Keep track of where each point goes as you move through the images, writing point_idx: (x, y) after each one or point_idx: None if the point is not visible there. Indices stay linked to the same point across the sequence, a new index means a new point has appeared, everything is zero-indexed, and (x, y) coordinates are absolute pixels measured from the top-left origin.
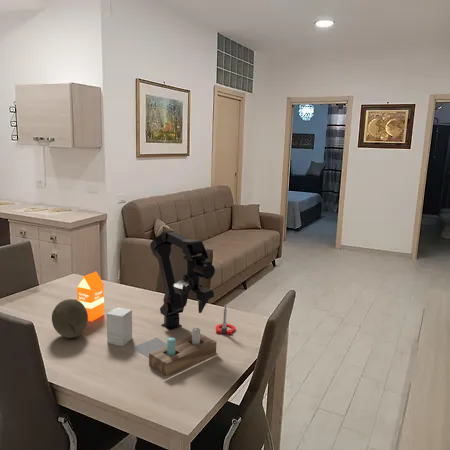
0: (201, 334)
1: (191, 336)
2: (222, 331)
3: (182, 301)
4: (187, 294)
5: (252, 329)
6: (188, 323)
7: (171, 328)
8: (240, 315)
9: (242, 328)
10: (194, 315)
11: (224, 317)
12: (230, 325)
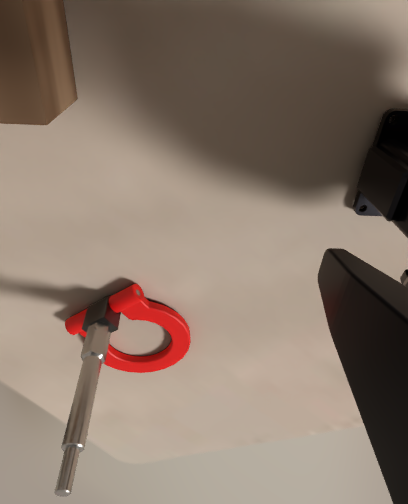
0: (1, 121)
1: (7, 1)
2: (102, 306)
3: (390, 290)
4: (397, 481)
5: (61, 396)
6: None
7: (392, 130)
8: (197, 434)
9: None
10: None
11: (80, 385)
12: (143, 367)
